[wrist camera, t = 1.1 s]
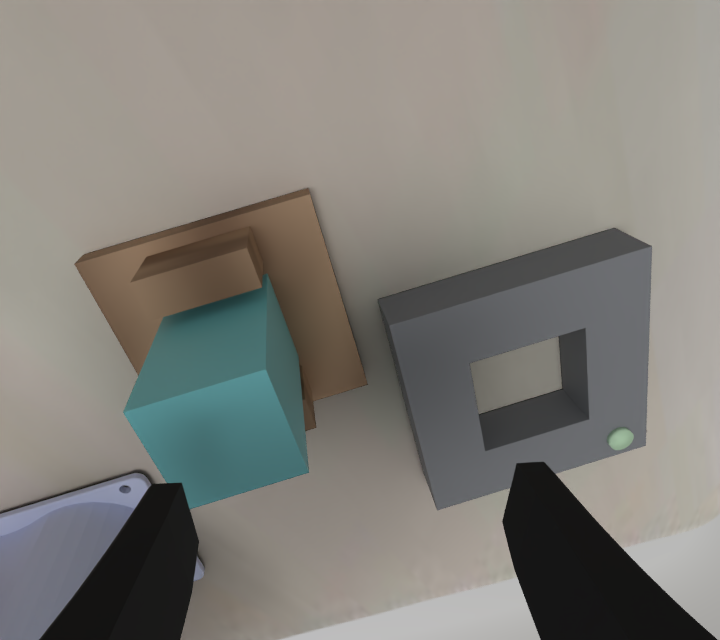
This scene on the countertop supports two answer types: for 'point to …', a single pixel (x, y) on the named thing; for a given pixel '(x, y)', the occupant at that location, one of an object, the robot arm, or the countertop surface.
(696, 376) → the countertop surface
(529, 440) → the port
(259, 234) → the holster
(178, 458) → the plug
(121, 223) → the countertop surface
